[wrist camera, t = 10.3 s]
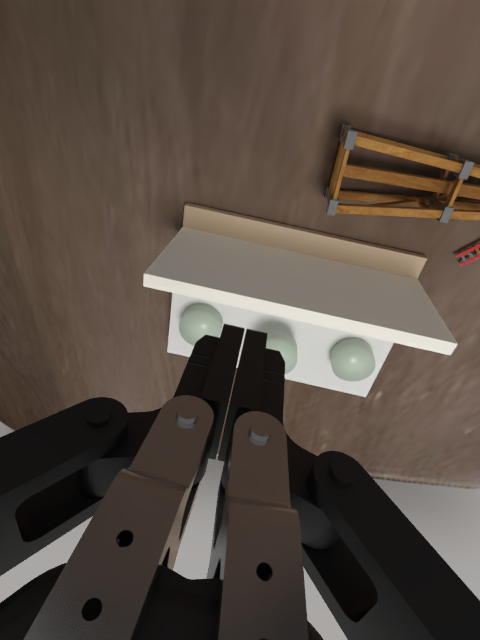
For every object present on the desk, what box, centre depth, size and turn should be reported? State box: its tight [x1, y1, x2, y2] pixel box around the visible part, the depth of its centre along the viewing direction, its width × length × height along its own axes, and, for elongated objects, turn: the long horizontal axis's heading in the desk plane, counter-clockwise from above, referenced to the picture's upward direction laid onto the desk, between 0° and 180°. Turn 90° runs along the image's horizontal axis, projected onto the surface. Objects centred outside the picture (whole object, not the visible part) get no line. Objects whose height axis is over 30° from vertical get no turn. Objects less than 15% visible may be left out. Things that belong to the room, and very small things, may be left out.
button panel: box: [167, 293, 393, 397], centre depth 45 cm, size 26×12×3 cm, turn 80°
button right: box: [330, 338, 376, 382], centre depth 42 cm, size 5×5×2 cm
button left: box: [179, 304, 223, 346], centre depth 43 cm, size 5×5×2 cm
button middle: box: [266, 331, 297, 374], centre depth 41 cm, size 5×5×2 cm
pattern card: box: [143, 203, 458, 355], centre depth 35 cm, size 26×4×13 cm, turn 80°
